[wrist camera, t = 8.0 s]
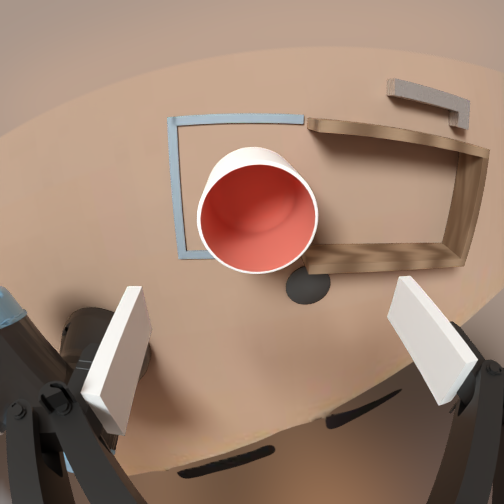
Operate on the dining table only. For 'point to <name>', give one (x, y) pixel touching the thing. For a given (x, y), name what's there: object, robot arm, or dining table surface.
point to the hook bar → (432, 100)
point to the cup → (256, 212)
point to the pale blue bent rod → (174, 162)
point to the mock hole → (307, 286)
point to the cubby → (409, 254)
